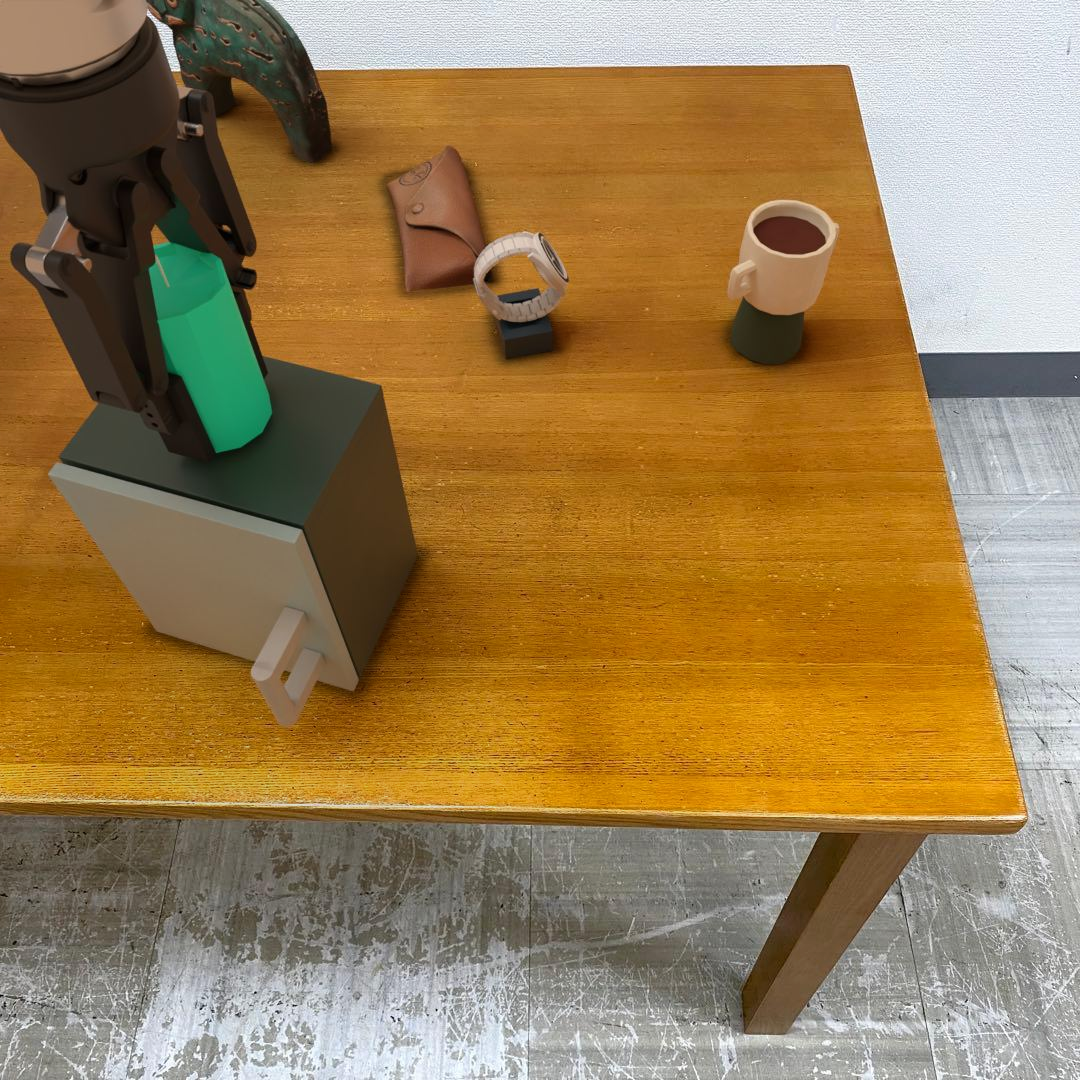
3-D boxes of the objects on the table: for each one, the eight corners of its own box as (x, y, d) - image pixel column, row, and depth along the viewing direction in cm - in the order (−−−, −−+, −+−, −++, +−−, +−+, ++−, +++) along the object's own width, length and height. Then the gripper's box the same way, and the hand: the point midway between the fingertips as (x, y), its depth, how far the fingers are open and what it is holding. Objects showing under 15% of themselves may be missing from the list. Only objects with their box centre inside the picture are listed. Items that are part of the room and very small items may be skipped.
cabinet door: (324, 760, 70) (251, 621, 54) (121, 695, 73) (-7, 545, 57) (360, 682, 73) (302, 529, 57) (165, 623, 76) (56, 461, 60)
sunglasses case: (379, 179, 104) (405, 124, 100) (441, 199, 108) (468, 147, 103) (405, 299, 94) (435, 244, 90) (472, 317, 98) (504, 265, 94)
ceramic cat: (176, 115, 112) (109, -78, 95) (219, 86, 115) (161, -106, 98) (309, 179, 105) (263, -15, 89) (351, 147, 108) (313, -47, 91)
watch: (574, 352, 91) (576, 255, 82) (486, 368, 90) (478, 272, 81) (559, 309, 94) (559, 211, 85) (474, 324, 93) (464, 227, 84)
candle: (230, 468, 58) (162, 313, 48) (150, 429, 60) (68, 273, 50) (292, 398, 61) (240, 239, 51) (214, 364, 63) (149, 203, 53)
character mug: (786, 298, 94) (815, 179, 84) (837, 345, 91) (874, 228, 80) (691, 343, 91) (708, 226, 81) (739, 394, 88) (764, 279, 77)
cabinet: (361, 681, 73) (303, 525, 57) (167, 621, 76) (57, 456, 60) (419, 559, 79) (381, 385, 62) (236, 508, 82) (154, 328, 65)
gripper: (0, 196, 36) (197, 554, 55) (251, -64, 45) (343, 317, 65) (-175, 157, 37) (77, 519, 56) (105, -87, 47) (238, 292, 66)
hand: (219, 410), depth 60 cm, fingers closed on candle, 6 cm apart
